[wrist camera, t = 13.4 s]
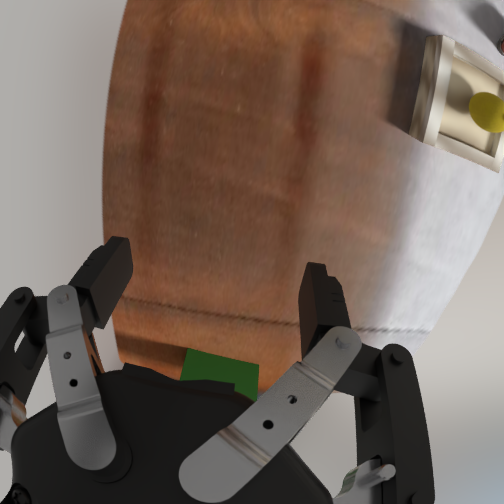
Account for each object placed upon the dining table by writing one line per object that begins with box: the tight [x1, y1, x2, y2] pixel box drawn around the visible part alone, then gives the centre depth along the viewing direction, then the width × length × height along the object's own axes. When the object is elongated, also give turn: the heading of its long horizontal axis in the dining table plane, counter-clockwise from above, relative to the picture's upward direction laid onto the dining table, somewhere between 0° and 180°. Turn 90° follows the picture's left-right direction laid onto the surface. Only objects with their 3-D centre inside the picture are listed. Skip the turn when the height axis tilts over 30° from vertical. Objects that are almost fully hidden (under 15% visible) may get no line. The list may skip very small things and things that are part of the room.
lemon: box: [469, 92, 504, 133], centre depth 25 cm, size 6×6×8 cm
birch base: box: [408, 35, 504, 173], centre depth 29 cm, size 16×16×6 cm
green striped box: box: [180, 348, 259, 402], centre depth 59 cm, size 18×7×24 cm, turn 74°
